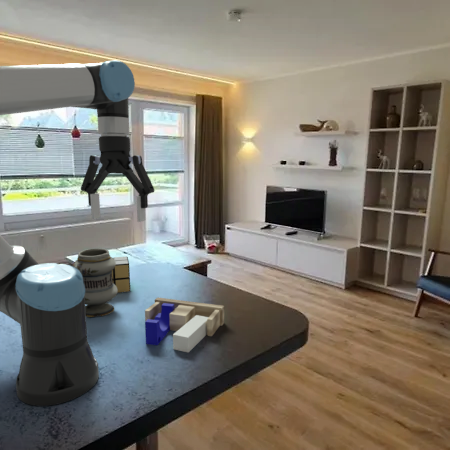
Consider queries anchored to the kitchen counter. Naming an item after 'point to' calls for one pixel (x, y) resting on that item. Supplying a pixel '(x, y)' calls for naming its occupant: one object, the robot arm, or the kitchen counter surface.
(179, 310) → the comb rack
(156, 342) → the blue stepped long piece
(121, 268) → the puzzle cube
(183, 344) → the white rectangular bar
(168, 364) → the kitchen counter surface
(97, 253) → the apothecary jar
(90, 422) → the kitchen counter surface
